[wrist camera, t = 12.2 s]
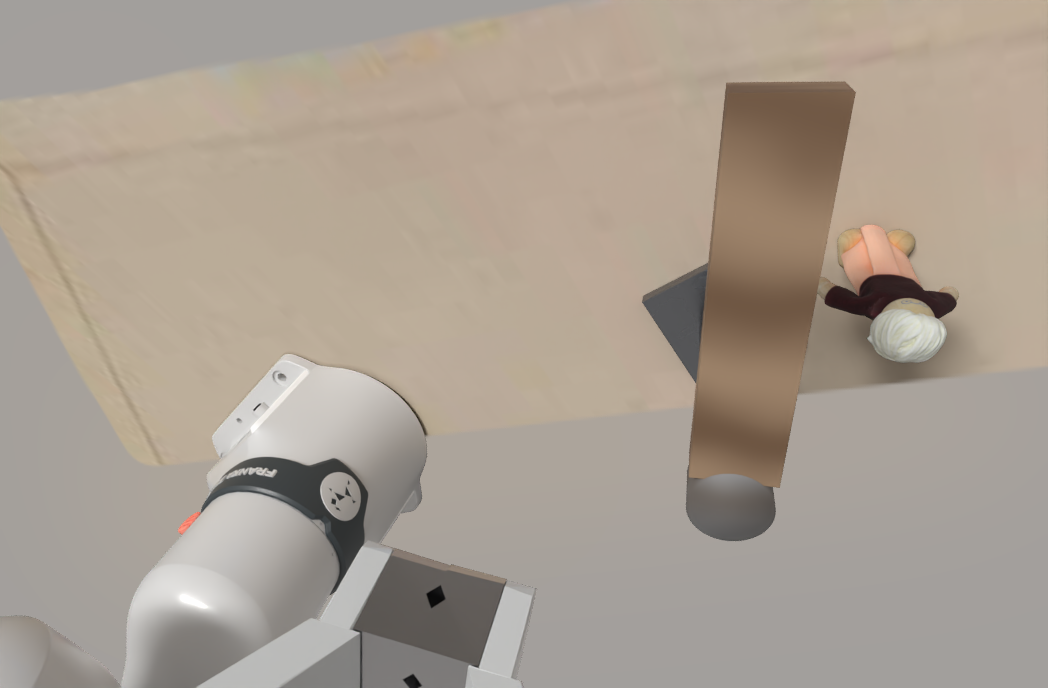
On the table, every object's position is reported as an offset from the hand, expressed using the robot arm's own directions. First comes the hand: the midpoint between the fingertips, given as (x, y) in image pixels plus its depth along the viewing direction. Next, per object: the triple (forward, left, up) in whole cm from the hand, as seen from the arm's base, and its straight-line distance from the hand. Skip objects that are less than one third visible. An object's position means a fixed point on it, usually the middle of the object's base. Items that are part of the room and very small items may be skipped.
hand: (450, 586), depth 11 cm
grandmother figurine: (+8, -15, -37) cm, 41 cm away
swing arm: (+3, -8, -20) cm, 22 cm away
